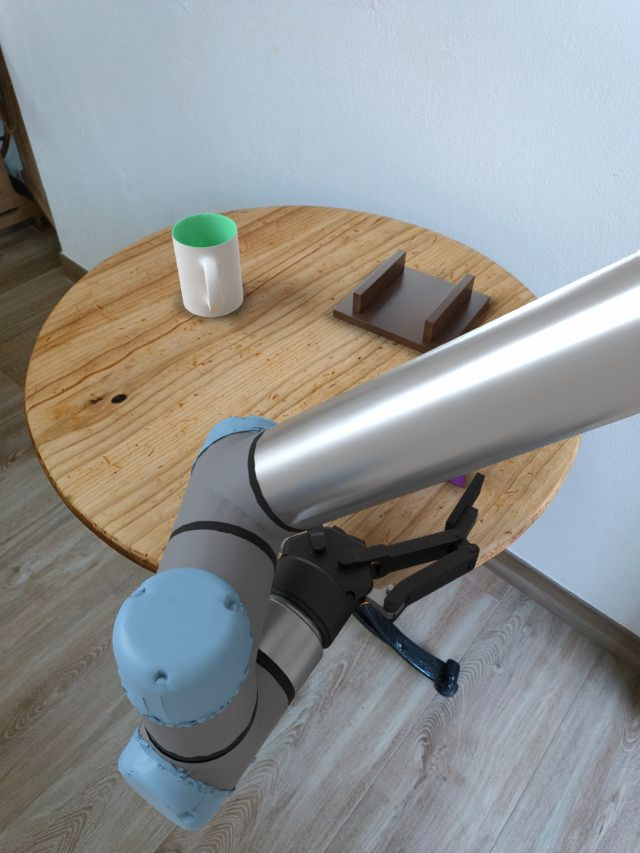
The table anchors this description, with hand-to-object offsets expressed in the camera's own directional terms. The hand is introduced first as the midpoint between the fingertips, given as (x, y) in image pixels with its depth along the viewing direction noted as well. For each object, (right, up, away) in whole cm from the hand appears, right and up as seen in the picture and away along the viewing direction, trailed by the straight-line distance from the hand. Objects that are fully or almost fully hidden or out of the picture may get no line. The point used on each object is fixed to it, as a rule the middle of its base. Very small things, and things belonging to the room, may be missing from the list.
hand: (413, 452), depth 66 cm
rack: (+3, +18, +25) cm, 31 cm away
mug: (-23, +18, +25) cm, 39 cm away
